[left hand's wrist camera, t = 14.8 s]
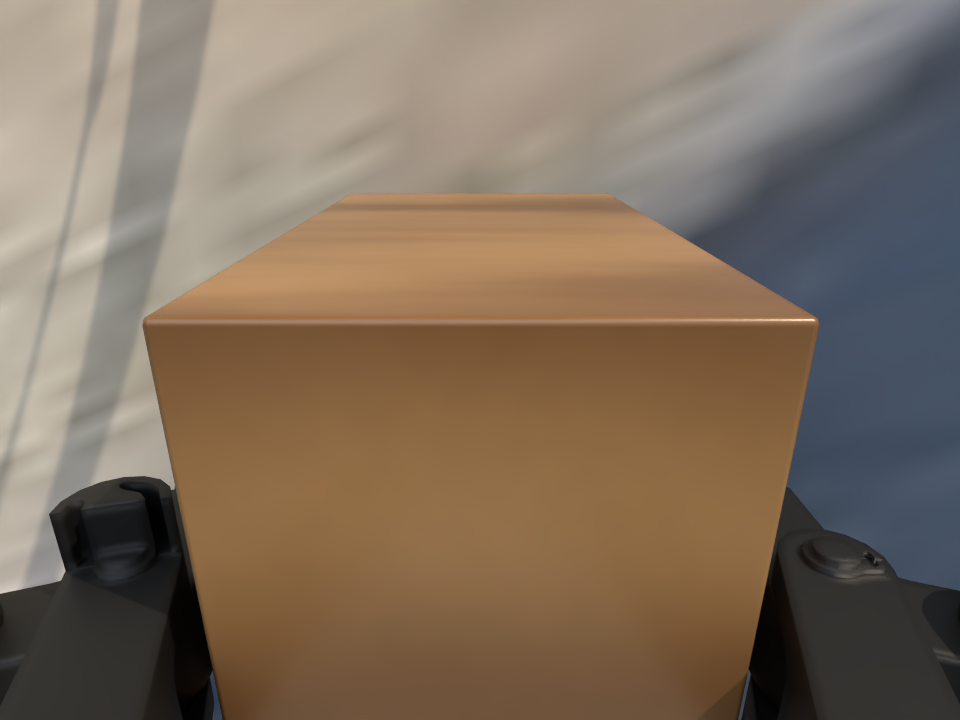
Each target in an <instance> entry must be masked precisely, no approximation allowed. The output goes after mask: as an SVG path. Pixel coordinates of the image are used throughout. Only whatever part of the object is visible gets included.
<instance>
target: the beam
mask: <svg viewBox="0 0 960 720" xmlns="http://www.w3.org/2000/svg"><path fill="white" fill-rule="evenodd" d="M818 329H819V321H818V319H817V318H816V317H815V316H813V315H811V314H810V313H808V312H806V311H805V310H803V309H801V308H800V307H798V306H796V305H795V304H793V303H791V302H790V301H788V300H786V299H784V298H783V297H781V296H779V295H778V294H776V293H774V292H773V291H771V290H769V289H768V288H766V287H764V286H763V285H761V284H759V283H758V282H756V281H754V280H753V279H751V278H749V277H748V276H746V275H744V274H743V273H741V272H739V271H737V270H736V269H734V268H732V267H731V266H729V265H727V264H726V263H724V262H722V261H721V260H719V259H717V258H716V257H714V256H712V255H711V254H709V253H707V252H706V251H704V250H702V249H701V248H699V247H697V246H696V245H694V244H692V243H690V242H689V241H687V240H685V239H684V238H682V237H680V236H679V235H677V234H675V233H674V232H672V231H670V230H669V229H667V228H665V227H664V226H662V225H660V224H659V223H657V222H655V221H654V220H652V219H650V218H649V217H647V216H645V215H643V214H642V213H640V212H638V211H637V210H635V209H633V208H632V207H630V206H628V205H627V204H625V203H623V202H622V201H620V200H618V199H617V198H615V197H613V196H612V195H610V194H439V193H352V194H350V195H348V196H347V197H345V198H343V199H342V200H340V201H338V202H337V203H335V204H333V205H332V206H330V207H328V208H327V209H325V210H323V211H322V212H320V213H318V214H317V215H315V216H313V217H312V218H310V219H308V220H307V221H305V222H303V223H302V224H300V225H298V226H297V227H295V228H293V229H292V230H290V231H288V232H287V233H285V234H283V235H282V236H280V237H278V238H277V239H275V240H273V241H272V242H270V243H268V244H267V245H265V246H263V247H262V248H260V249H258V250H257V251H255V252H253V253H252V254H250V255H248V256H247V257H245V258H243V259H242V260H240V261H238V262H237V263H235V264H233V265H232V266H230V267H228V268H227V269H225V270H223V271H222V272H220V273H218V274H217V275H215V276H213V277H212V278H210V279H208V280H207V281H205V282H203V283H202V284H200V285H198V286H197V287H195V288H193V289H192V290H190V291H188V292H187V293H185V294H183V295H182V296H180V297H178V298H177V299H175V300H173V301H172V302H170V303H168V304H167V305H165V306H163V307H162V308H160V309H158V310H157V311H155V312H153V313H152V314H150V315H148V316H147V317H145V318H144V320H143V331H144V336H145V340H146V345H147V350H148V355H149V360H150V365H151V370H152V375H153V380H154V384H155V389H156V394H157V399H158V404H159V409H160V414H161V419H162V424H163V429H164V433H165V438H166V443H167V448H168V453H169V458H170V463H171V468H172V473H173V477H174V482H175V487H176V492H177V497H178V502H179V507H180V512H181V517H182V522H183V526H184V531H185V536H186V541H187V546H188V551H189V556H190V561H191V566H192V570H193V575H194V580H195V585H196V590H197V595H198V600H199V605H200V610H201V615H202V619H203V624H204V629H205V634H206V639H207V644H208V649H209V654H210V659H211V663H212V668H213V673H214V678H215V683H216V688H217V693H218V698H219V703H220V708H221V712H222V717H223V720H738V717H739V712H740V707H741V703H742V698H743V693H744V688H745V683H746V678H747V673H748V669H749V664H750V659H751V654H752V649H753V644H754V640H755V635H756V630H757V625H758V620H759V615H760V610H761V606H762V601H763V596H764V591H765V586H766V581H767V577H768V572H769V567H770V562H771V557H772V552H773V547H774V543H775V538H776V533H777V528H778V523H779V518H780V514H781V509H782V504H783V499H784V494H785V489H786V484H787V480H788V475H789V470H790V465H791V460H792V455H793V451H794V446H795V441H796V436H797V431H798V426H799V421H800V417H801V412H802V407H803V402H804V397H805V392H806V388H807V383H808V378H809V373H810V368H811V363H812V358H813V354H814V349H815V344H816V339H817V334H818Z"/></svg>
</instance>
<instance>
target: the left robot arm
mask: <svg viewBox="0 0 960 720" xmlns="http://www.w3.org/2000/svg"><path fill="white" fill-rule="evenodd" d="M49 516H50V519H51V523H52V526H53V529H54V533H55V536H56V539H57V543H58V546H59V550H60V553H61V556H62V560H63V563H64V567H65V570H66V572H65V574H64V576H63V578H62V580H61V581H58V582H55V583H51V584H46V585H41V586H36V587H32V588H27V589H22V590H17V591H12V592H7V593H2V594H0V720H212V717H213V709H214V698H213V691H212V686H211V681H210V675H211V673H212V670H213V668H212V663H211V659H210V654H209V649H208V644H207V639H206V634H205V629H204V624H203V619H202V615H201V610H200V605H199V600H198V595H197V590H196V585H195V580H194V575H193V570H192V566H191V561H190V556H189V551H188V546H187V541H186V536H185V531H184V526H183V522H182V517H181V512H180V507H179V502H178V497H177V492H176V487H175V490H171V489H170V486H169V485H167V484H166V483H165V482H163V481H162V480H161V479H156V478H151V477H146V476H139V477H122V478H118V479H113V480H109V481H104V482H100V483H98V484H95V485H93V486H90V487H87V488H85V489H82V490H80V491H78V492H76V493H75V494H73V495H71V496H70V497H68V498H66V499H65V500H63V501H61V502H60V503H59V504H58V505H57V506H56V507H55V509H54V510H53V511H52V512H51V513H50V514H49ZM749 670H750V672H751V676H750V681H749V686H748V691H747V695H746V700H745V705H744V710H743V715H742V719H741V720H960V591H957V590H952V589H948V588H943V587H938V586H933V585H928V584H923V583H918V582H913V581H909V580H905V579H901V578H898V577H897V575H896V573H895V571H894V569H893V568H892V567H891V565H890V564H889V563H888V562H887V560H886V559H885V558H884V557H883V556H882V555H881V554H879V553H878V552H876V551H875V550H874V549H872V548H871V547H869V546H868V545H867V544H864V543H862V542H860V541H858V540H856V539H853V538H851V537H849V536H847V535H844V534H840V533H836V532H832V531H828V530H824V529H823V528H822V526H821V525H820V524H819V523H818V522H817V520H816V519H815V518H814V517H813V516H812V514H811V513H810V512H809V511H808V510H807V508H806V507H805V506H804V505H803V504H802V502H801V501H800V500H799V499H798V498H797V496H796V495H795V494H794V493H793V492H792V490H791V489H790V488H786V489H785V494H784V499H783V504H782V509H781V514H780V518H779V523H778V528H777V533H776V538H775V543H774V547H773V552H772V557H771V562H770V567H769V572H768V577H767V581H766V586H765V591H764V596H763V601H762V606H761V610H760V615H759V620H758V625H757V630H756V635H755V640H754V644H753V649H752V654H751V659H750V664H749Z"/></svg>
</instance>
